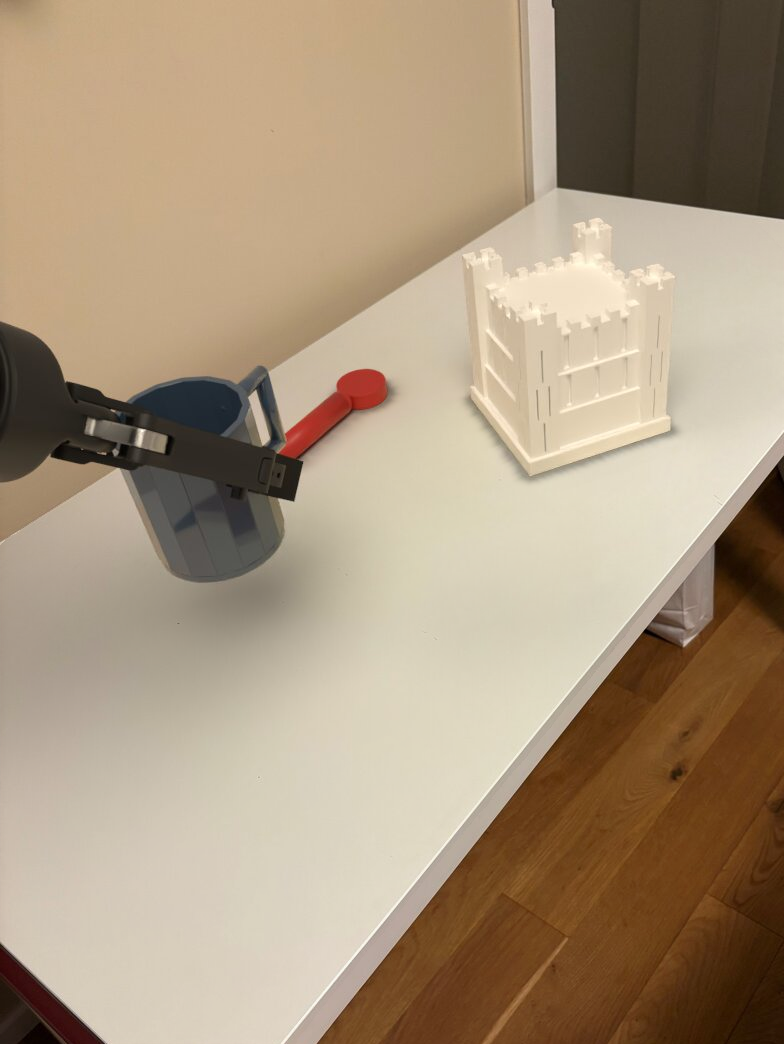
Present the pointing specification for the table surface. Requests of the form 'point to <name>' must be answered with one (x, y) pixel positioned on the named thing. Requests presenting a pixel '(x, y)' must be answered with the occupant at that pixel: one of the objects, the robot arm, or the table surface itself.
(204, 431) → the robot arm
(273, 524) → the mug
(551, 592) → the table surface
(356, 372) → the spoon
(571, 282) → the castle model
